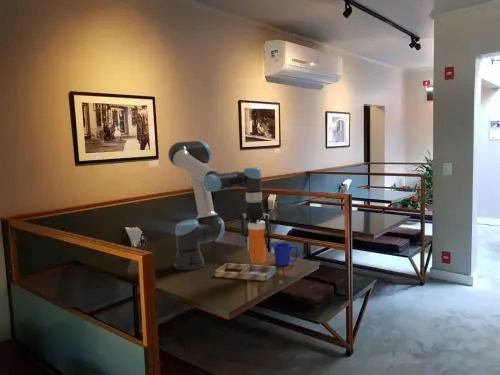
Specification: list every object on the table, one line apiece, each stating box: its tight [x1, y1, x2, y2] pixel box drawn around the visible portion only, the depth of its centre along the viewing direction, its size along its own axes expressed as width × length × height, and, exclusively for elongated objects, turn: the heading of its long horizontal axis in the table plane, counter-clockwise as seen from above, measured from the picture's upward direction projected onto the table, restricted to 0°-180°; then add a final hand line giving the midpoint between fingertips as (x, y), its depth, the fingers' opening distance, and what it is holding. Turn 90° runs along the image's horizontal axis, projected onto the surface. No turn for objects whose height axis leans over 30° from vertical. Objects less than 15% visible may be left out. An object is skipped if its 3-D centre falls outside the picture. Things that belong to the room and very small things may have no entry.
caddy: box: [213, 262, 277, 282], centre depth 195 cm, size 26×13×2 cm, turn 68°
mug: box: [273, 242, 299, 267], centre depth 206 cm, size 8×12×10 cm
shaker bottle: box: [247, 216, 267, 264], centre depth 191 cm, size 9×9×20 cm
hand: (256, 250), depth 192 cm, fingers open, 6 cm apart
